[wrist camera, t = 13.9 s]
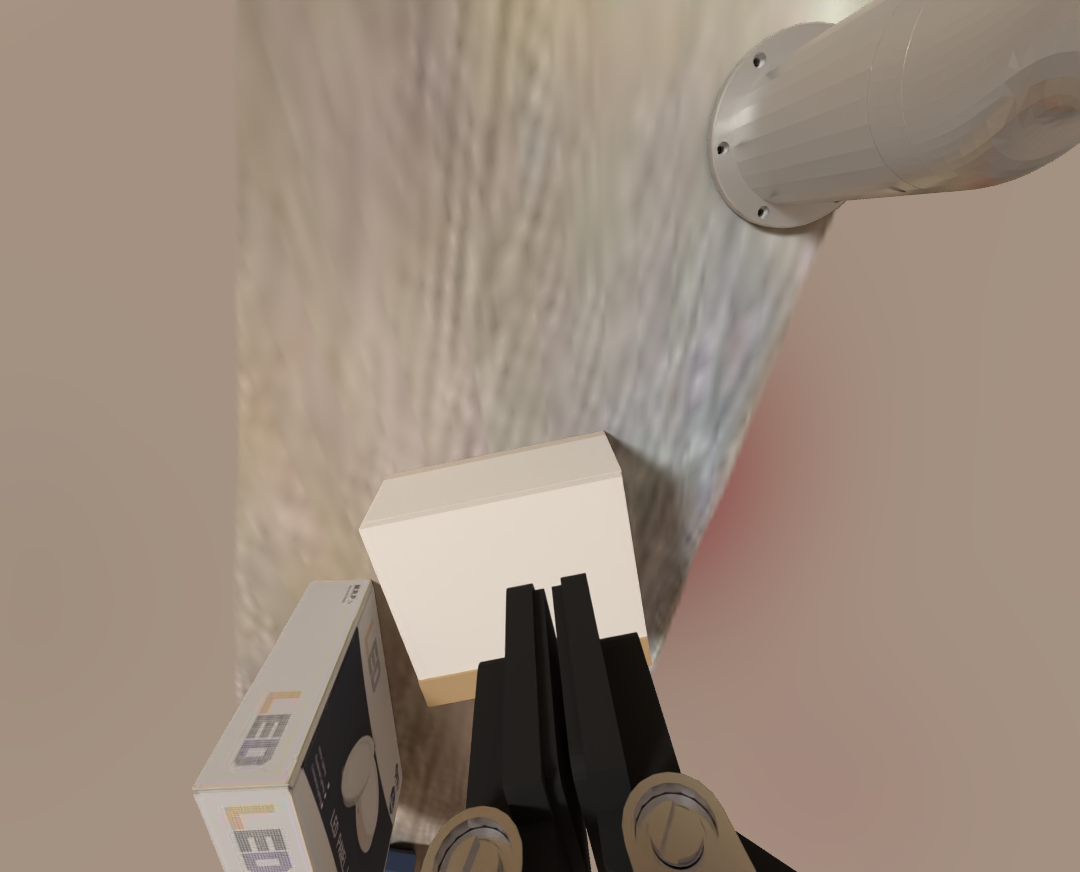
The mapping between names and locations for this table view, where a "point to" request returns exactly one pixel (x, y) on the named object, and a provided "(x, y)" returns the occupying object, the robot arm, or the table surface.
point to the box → (494, 476)
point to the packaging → (310, 747)
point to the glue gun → (400, 860)
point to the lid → (501, 572)
